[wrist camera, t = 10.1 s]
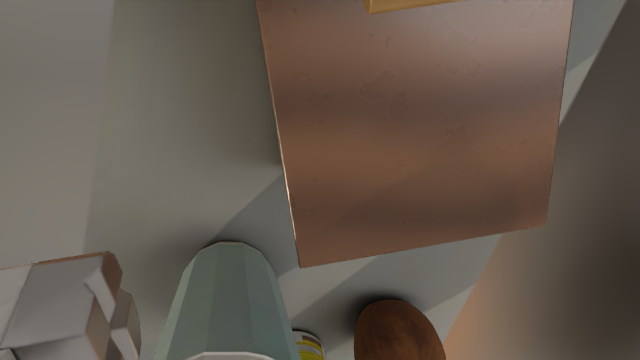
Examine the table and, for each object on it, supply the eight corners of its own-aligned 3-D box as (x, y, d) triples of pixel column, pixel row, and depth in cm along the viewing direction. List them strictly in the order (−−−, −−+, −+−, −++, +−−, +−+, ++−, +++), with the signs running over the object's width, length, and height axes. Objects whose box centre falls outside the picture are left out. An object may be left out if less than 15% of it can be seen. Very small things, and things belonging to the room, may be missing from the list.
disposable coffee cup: (268, 332, 49) (285, 513, 37) (136, 309, 46) (105, 499, 33) (315, 233, 45) (353, 401, 32) (171, 199, 41) (151, 373, 29)
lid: (241, -88, 23) (246, -65, 19) (581, -134, 24) (654, -122, 20) (298, 259, 33) (309, 323, 29) (539, 217, 34) (583, 273, 30)
